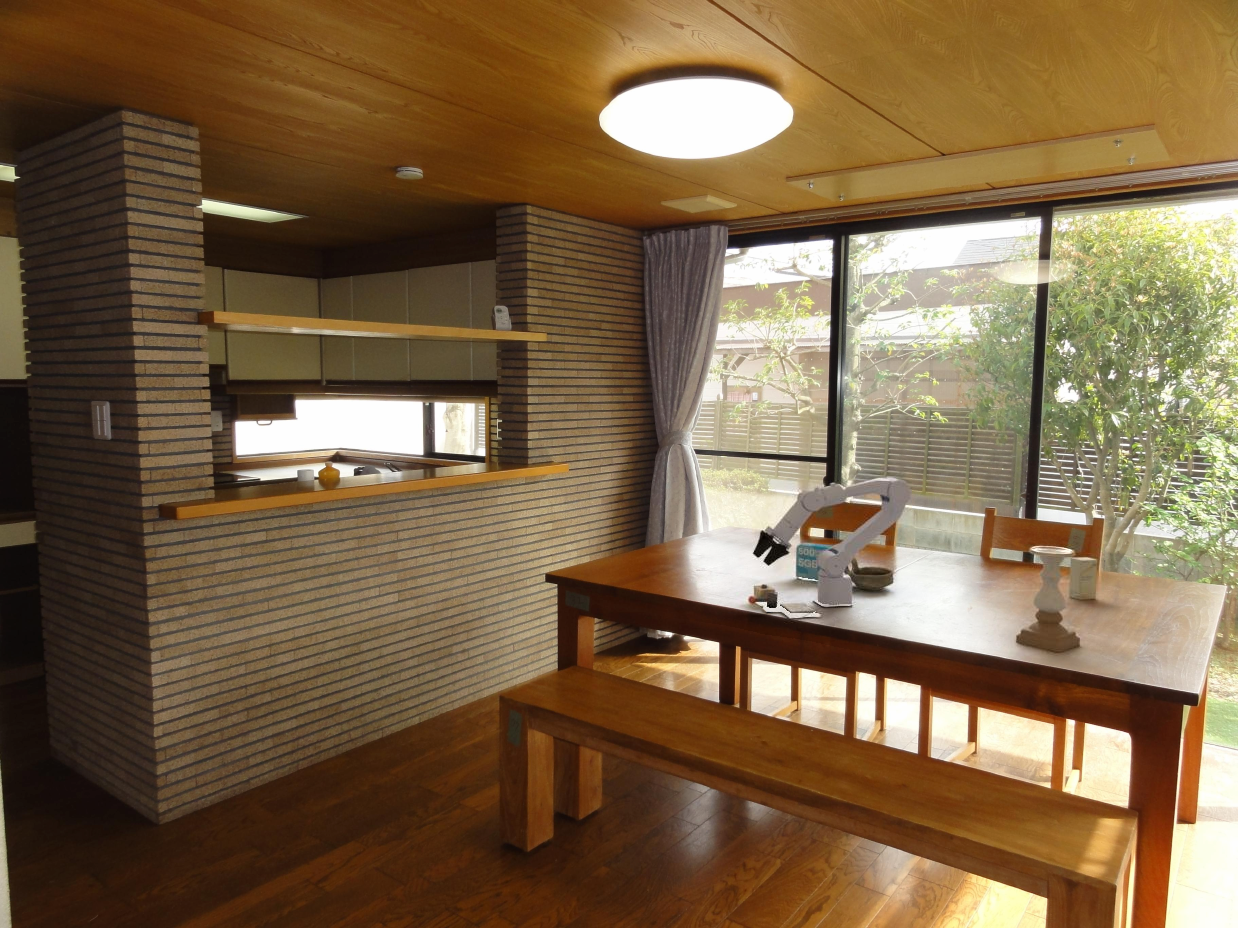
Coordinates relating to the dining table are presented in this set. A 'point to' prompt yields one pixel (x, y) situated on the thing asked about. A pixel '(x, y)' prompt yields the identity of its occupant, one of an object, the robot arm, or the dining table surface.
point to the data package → (808, 560)
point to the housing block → (762, 590)
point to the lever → (766, 599)
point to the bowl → (870, 576)
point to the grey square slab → (798, 608)
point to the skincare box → (1083, 578)
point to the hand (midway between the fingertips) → (760, 559)
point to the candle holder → (1049, 605)
